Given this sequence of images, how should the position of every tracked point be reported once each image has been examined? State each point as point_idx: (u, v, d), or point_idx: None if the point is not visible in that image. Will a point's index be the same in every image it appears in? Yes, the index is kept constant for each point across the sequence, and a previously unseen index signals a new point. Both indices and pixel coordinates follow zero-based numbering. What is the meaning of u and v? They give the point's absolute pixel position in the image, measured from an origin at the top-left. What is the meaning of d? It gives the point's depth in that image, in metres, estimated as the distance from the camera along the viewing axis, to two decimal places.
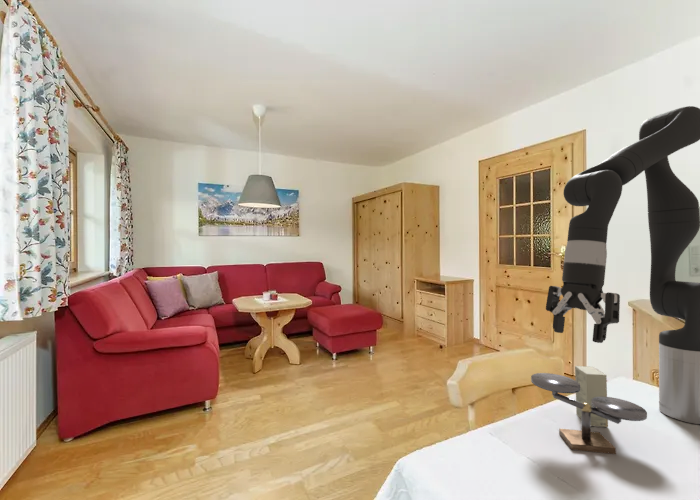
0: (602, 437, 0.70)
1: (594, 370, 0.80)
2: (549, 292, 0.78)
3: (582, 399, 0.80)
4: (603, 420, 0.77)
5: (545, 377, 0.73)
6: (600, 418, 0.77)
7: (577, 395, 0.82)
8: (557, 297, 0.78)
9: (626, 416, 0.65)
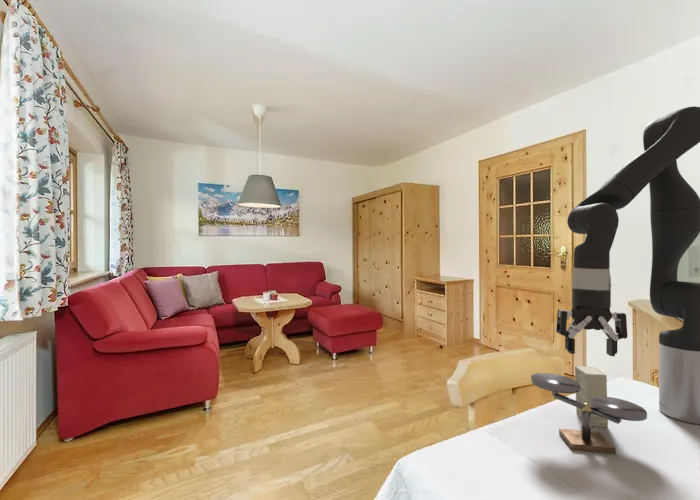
0: (602, 437, 0.70)
1: (594, 370, 0.80)
2: (563, 317, 0.80)
3: (582, 399, 0.80)
4: (603, 420, 0.77)
5: (545, 377, 0.73)
6: (600, 418, 0.77)
7: (577, 395, 0.82)
8: None
9: (626, 416, 0.65)
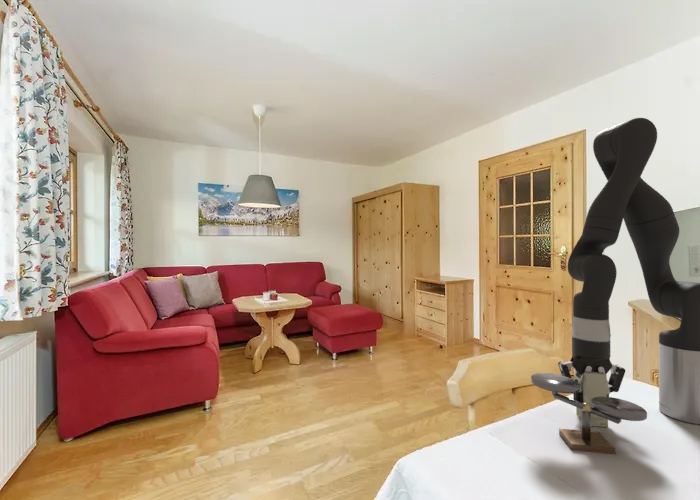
0: (602, 437, 0.70)
1: None
2: (565, 371, 0.80)
3: None
4: (603, 420, 0.77)
5: (545, 377, 0.73)
6: (600, 418, 0.77)
7: None
8: None
9: (626, 416, 0.65)
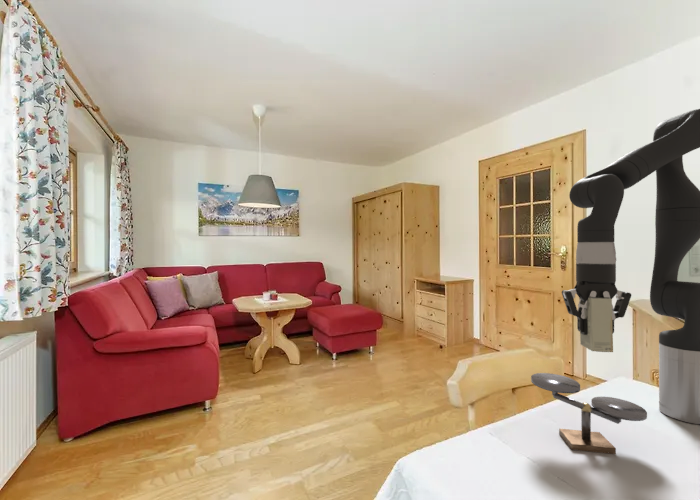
0: (602, 437, 0.70)
1: None
2: (568, 298, 0.78)
3: None
4: (608, 345, 0.74)
5: (545, 377, 0.73)
6: (605, 343, 0.75)
7: None
8: None
9: (626, 416, 0.65)
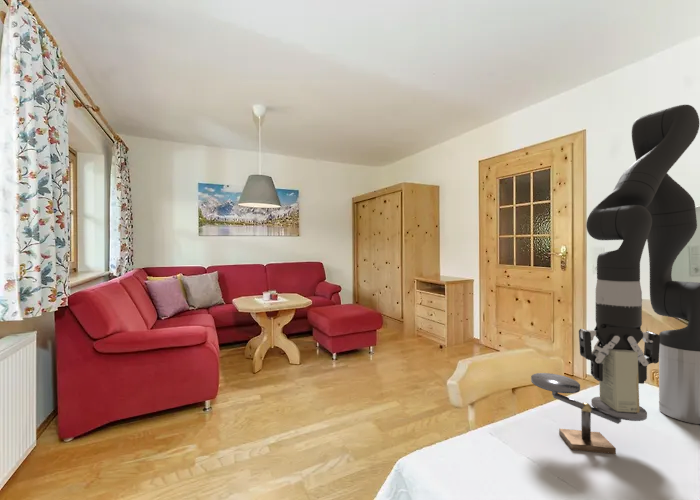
0: (602, 437, 0.70)
1: None
2: (586, 339, 0.69)
3: (608, 381, 0.69)
4: (634, 405, 0.66)
5: (545, 377, 0.73)
6: (630, 402, 0.66)
7: None
8: None
9: (626, 416, 0.65)
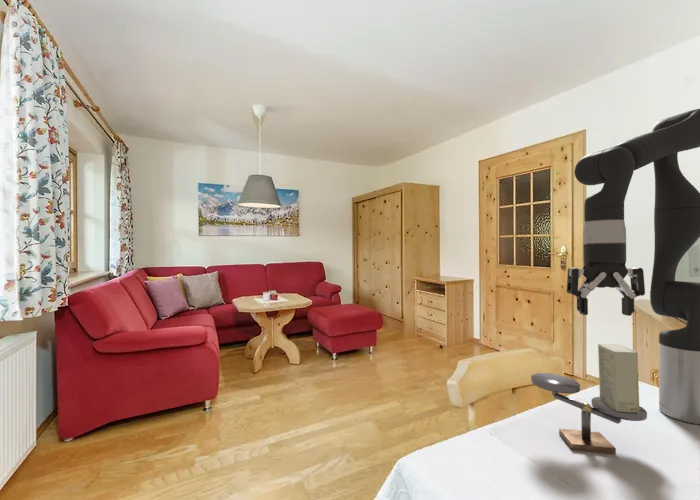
0: (602, 437, 0.70)
1: (621, 348, 0.69)
2: (574, 275, 0.73)
3: (607, 381, 0.69)
4: (634, 405, 0.66)
5: (545, 377, 0.73)
6: (630, 402, 0.66)
7: (601, 377, 0.71)
8: None
9: (626, 416, 0.65)
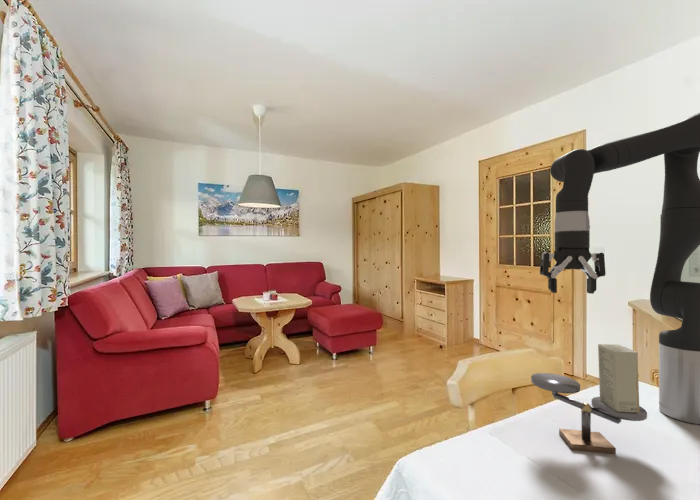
0: (602, 437, 0.70)
1: (621, 348, 0.69)
2: (545, 258, 0.85)
3: (607, 381, 0.69)
4: (634, 405, 0.66)
5: (545, 377, 0.73)
6: (630, 402, 0.66)
7: (601, 377, 0.71)
8: None
9: (626, 416, 0.65)
